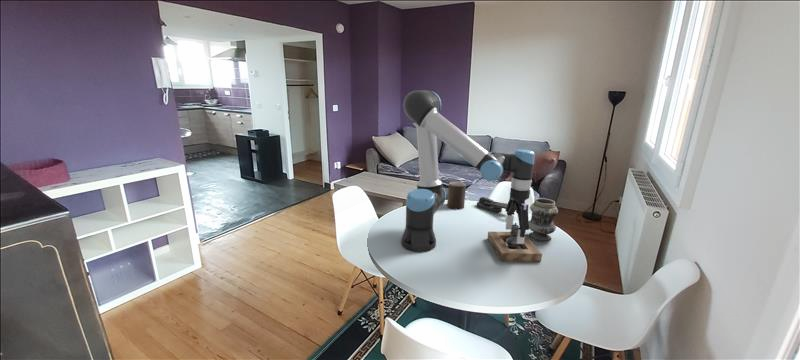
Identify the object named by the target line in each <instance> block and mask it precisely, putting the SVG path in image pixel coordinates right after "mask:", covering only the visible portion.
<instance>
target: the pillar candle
mask: <svg viewBox="0 0 800 360" xmlns="http://www.w3.org/2000/svg"><path fill="white" fill-rule="evenodd" d="M466 189H467V184H466V183H465V182H461V181H450V182H449V183H448V189H447V201H446V202H447V204H446V206H447V207H448V208H449V209H452V210H459V211H460V210H463V209H465V199H466Z"/></svg>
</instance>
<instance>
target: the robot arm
mask: <svg viewBox="0 0 800 360" xmlns="http://www.w3.org/2000/svg"><path fill="white" fill-rule="evenodd" d="M402 107H403V111H404V114H405V115H406V117H408V118H409V119H410V120H411V121H412V124H413V126H415V127H416V140H417V142H416V143H417V155H418V156H417V157H418V158H417V159H418V168H419V169H418V171H419V180H418V182H417V183H416V189H412V190H411V191H409V192H408V193H407V196H406V201H405V228H404V230H403V233H402V235H401V239H400V244H401V246H402V248H404V249H406V250H408V251H411V252H417V253H425V252H429V251H432V250H433V249H434V248H436V246H437V239H436V234H435V231H434V216H435V213H437V212H438V211H439V210H440V209H441V208H442V207H443V205H444V204H445V203H446V198H447V192H446V190H445V188H444V186H443V181H442V180H441V179H440V175H439V174H440V173H439V156H438V155H439V153H438V139H439V140H440V141H442V142H443V143H444V144H445V145H446V146H448V147H449V148H451V149H452V150H453V151H454V152H455V153H456V154H458V155H459V156H460V157H462V158H463V159H464V160H465V161H466V162H468V163H469V164H470V165H472V166H473V167H474V168H475V169H477V170H478V171H479V172H480V175H481V177H482V178H483V179H484V180H485V181H488V182H494V181H497V180H498V179H499V178H501V176H502V174H503V173H511V174H512V175H511V181H510V182H511V183H510V190H509V198H508V202H507V203H506V204H507V207H506V209H505V212H506V222H505V230H506V231H507V230H510V231H511V228H512V225H513V224H514V215H515V213H516V214H517V218H518V226H519V228H518V236H517V244H524V239H525V235H526V231H529V230H530V229H529V221H530V220H529V204H526V202H525V201H526V200H529V199H530V196H531V195H530V194H531V190H530V189H531V186H532V183H533V180H532V179H533V173H534V168H535V167H534V165H535V158H536V157H535V156H536V154H535V152H534V151H532V150H530V149H516V150H515V151H514V153H503V152H496V151H488V150H487V149H486V148H484V147H482V146H481V145H480V144H479V143H478V142H476V141H475V140H473V139H472V138H471V137H470V136H469V135H468V134H466V133H465V132H464V131H462V130H461V129H460V128H458V127H457V126H456V125H455V124H453V123H452V122H450V120H449V119H447V118H446V117H444V115H442V114H441V113H440V112H441V110H442V99H441V98H440V96H439V95H438V94H437V93H436V92H434V91H432V90H428V89H423V90H421V89H420V90H413V91H410V92H409V93H407V94H406V96H405V97H404V100H403V105H402Z"/></svg>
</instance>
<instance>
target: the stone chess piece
mask: <svg viewBox="0 0 800 360" xmlns="http://www.w3.org/2000/svg"><path fill="white" fill-rule="evenodd" d="M518 228H520V227H519V224H518V223H517V222H515V223H513V225H512V228H511V230H510V231H509V232H510V233H511V234H510V238H507V239H506V241H507V245H508V246H507V247H508V248H509V249H519V248H518V246H519V244H517V236H518Z"/></svg>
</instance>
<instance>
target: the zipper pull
mask: <svg viewBox="0 0 800 360" xmlns="http://www.w3.org/2000/svg"><path fill="white" fill-rule="evenodd" d="M507 204H508V203H504V202H500V201H495V200H493V199H491V198H489V197H485V196H481V197H479V199H478V202H476V207H477V208H478V209H481V210H484V211H487V212H489V213H491V214H500V213H502V212H503V209H505V210H506V207H507Z"/></svg>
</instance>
